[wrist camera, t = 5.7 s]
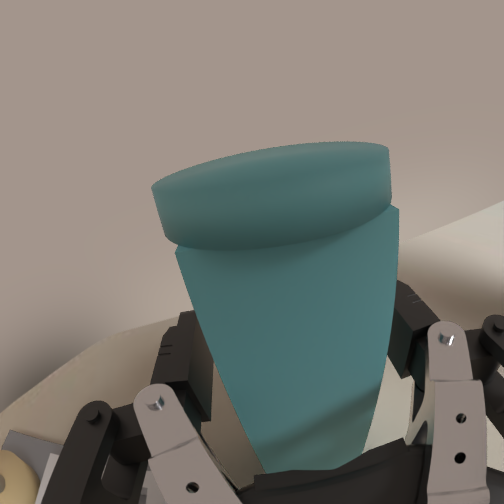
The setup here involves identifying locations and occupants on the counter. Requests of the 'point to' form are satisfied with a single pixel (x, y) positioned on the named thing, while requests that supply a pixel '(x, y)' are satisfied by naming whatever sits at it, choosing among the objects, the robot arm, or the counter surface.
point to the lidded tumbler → (292, 289)
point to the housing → (43, 471)
